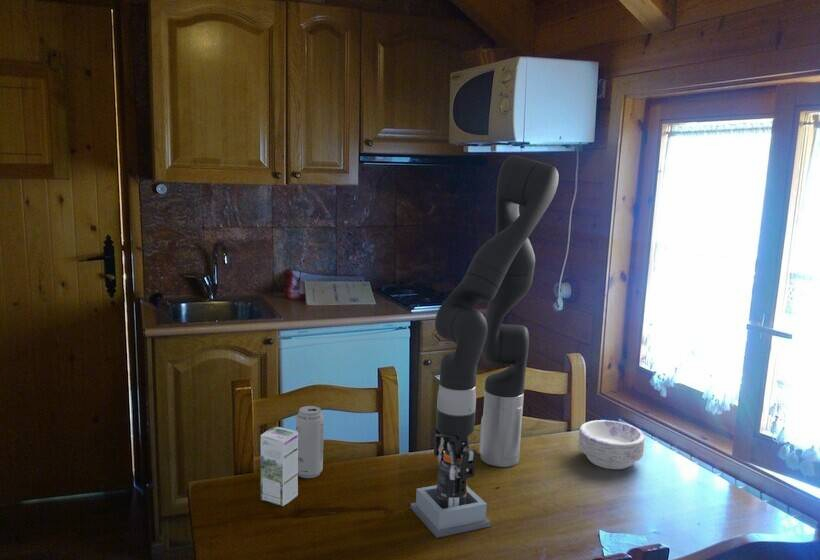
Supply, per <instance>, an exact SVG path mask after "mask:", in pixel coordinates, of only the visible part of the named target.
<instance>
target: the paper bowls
mask: <svg viewBox="0 0 820 560" xmlns="http://www.w3.org/2000/svg"><path fill="white" fill-rule="evenodd" d="M578 435H579V436H578V449H579V450H580V451H581V452H582V453H583V454H584V455H586V457H587V460H589V462H591V463H592V464H593V465H595V466H597V467H600V468H603V469H607V470H624V469H627V468H629V467H631V466H632V465H633V463H636V462H637V461H640V460H641V459H643V456H644V453H645V450H644V449H645V439H646V437H645V434H644V432H643V431H642V430H641V429H639V428H637V427H635V426H634V425H632V424H631V425H630V424H628V423H625V422H621V421H617V420H609V419H608V420H606V419H599V420H598V419H595V420H590V421H586V422H585V423H582V424H581V425H580V427H579V432H578Z"/></svg>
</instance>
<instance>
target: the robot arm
mask: <svg viewBox="0 0 820 560" xmlns="http://www.w3.org/2000/svg"><path fill="white" fill-rule="evenodd" d="M558 185H559V171H558V170H557V168H556V167H555V166H553V165H552V164H549V163H545V162H541V161H539V160H536V159H531V158H529V157H524V156H522V155H521V156H520V155H515V154H514V155H509V156H508V157H506V158H505V160H504V161H503V162H502V164H501V167H500V169H499V173H498V177H497V183H496V203H495V204H496V207H495V208H496V209H495V210H496V212H495V213H496V215H495V218H496V219H495V220H496V221H495V235H494V236H493V237H492V238H489V240H487V241H486V242H485V243H484V244H482V246H481V247H479V249H478V250H477V251H476V253H475V254H474V256H473V258H472V260H471V262H470V263H469V266H468V268H467V270H466V272H465V275H464V276H463V278H462V280H461V281H460V283H459V284H458V285H457V286H456V287H455V288H454V289H453V291H452V292H451V293H450V294H449V295H448V296H447V298H445V300H444V301H443V302H442V304H441V305H440V307H439V308H438V311H437V313H436V316H435V320H434V326H435V330H436V334H438V336H440V337H441V338H443V339H445V340H447V341H451V342H453V343H456V348H455V352H449V353H446V354H444V355H443V356H442V357H441V360H440V365H439V366H440V368H439V386H438V391H437V398H436V399H437V400H436V401H437V402H436V403H437V404H436V419H435V426H434V427H433V454H434V456H437V461H438V463H440V462H441V461H442V460H444V459H443V457H444V452H445V451H446V452H447V453H448V454H450V460H451V465H452V466H454V471H455V485H454V494H455V495H457V496H459V495H464V494H465V493H466V479H467V480H468V479H471V478H474V477H475V470H476V464H477V456H478V454H480V455H479V457H480V460H481V461H482V462H484V463H485V464H486V465H490V466H494V467H500V468H509V467H513V466H516V465H517V464H518V463H519V461H520V449H521V438H522V424H523V423H522V422H523V410H524V396H525V393H524V392H525V385H526V383H525V382H526V381H525V380H526V371H527V364H528V363H527V362H528V355H529V347H530V346H529V345H530V333H529V329H528V328H527V327H526V326H525V325H522V324H521V325H520V324H505V323H504V324H503V323H502V322H503V321H504V318H505V317H506V315H507V314H508V313H509V312H510V310H511V309H512V308H513V307H515V306H516V305H517V304H518V303H519V302H520V301H521V300H522V299H523V298H525V296H526V295H527V294H528V292H529V291H530V290H531V286H532V285H533V279H534V273H535V267H536V256H535V252H534V249H533V246H532V243H531V241H530V239H529V237H530V235H531V234H532V232H533V230H534V229H535V228H536V226H537V224H538V223H539V222H540V220H541V219H542V217H543V215H544V214H545V213H546V211H547V209H548V208H549V206H550V204H551V202H552V200H553V199H554V196H555V194H556V192H557V188H558ZM520 206H522V207H524V208H523V210H522V212H520ZM481 303H487V307H486V313H485V315H484V314H483V313H482V312H481V311H479V310H477V309H475V307H476V306H477V305H478V304H481ZM481 357H482V359H483V360H484V361H485V362H487V363H491V364H499V365H501V364H502V365H509V366H508V367H507V368H505V369H504V370H500V371H498V372H496V373H492V374H490V375H489V376H487V377H486V379H485V382H484V396H483V413H482V414H483V415H482V416H481V420H480V421H481V422H480V436H479V449H478V450H479V452H477V450H476V449H471V448H470V447H469V446H470V445H469V443H470V442H469V436H470V435H471V434H472V433H473V432H474V431H475V427H476V426H475V424H476V408H477V407H476V405H477V389H476V388H477V370H478V369H477V367H478V364H479V360H480V358H481ZM458 458H462V461H456V459H458ZM459 465H461V469H460V471H459Z"/></svg>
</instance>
